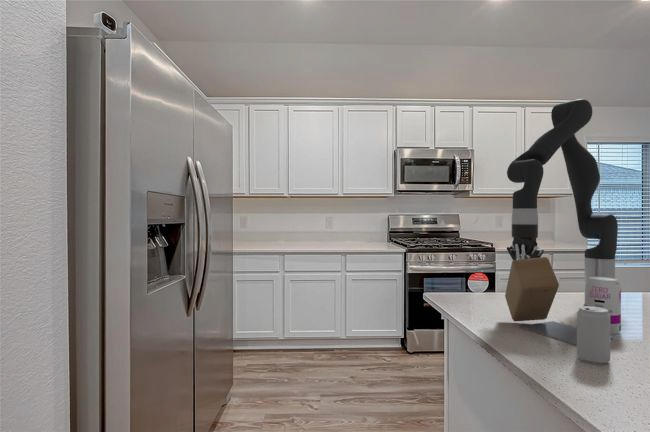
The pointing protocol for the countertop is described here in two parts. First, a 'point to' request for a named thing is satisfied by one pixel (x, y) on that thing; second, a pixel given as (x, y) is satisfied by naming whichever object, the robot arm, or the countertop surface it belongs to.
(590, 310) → the beverage can
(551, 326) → the mat
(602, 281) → the supplement can
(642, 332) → the countertop surface
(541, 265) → the wooden block
